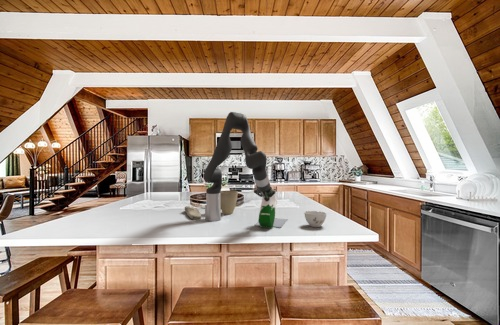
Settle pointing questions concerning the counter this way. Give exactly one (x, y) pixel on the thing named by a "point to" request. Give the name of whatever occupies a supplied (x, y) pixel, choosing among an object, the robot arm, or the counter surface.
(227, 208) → the plant pot
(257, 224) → the slate mat
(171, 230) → the counter surface
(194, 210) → the elongated rock
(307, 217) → the teacup
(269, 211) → the milk carton
